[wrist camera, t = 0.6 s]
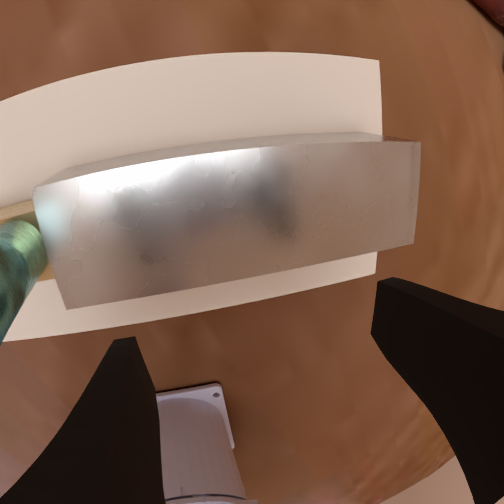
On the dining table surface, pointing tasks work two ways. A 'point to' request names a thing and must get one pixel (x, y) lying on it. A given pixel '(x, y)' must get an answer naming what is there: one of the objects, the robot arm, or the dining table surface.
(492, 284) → the dining table surface
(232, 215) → the steel sleeve
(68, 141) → the base board
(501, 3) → the olive brown lump
